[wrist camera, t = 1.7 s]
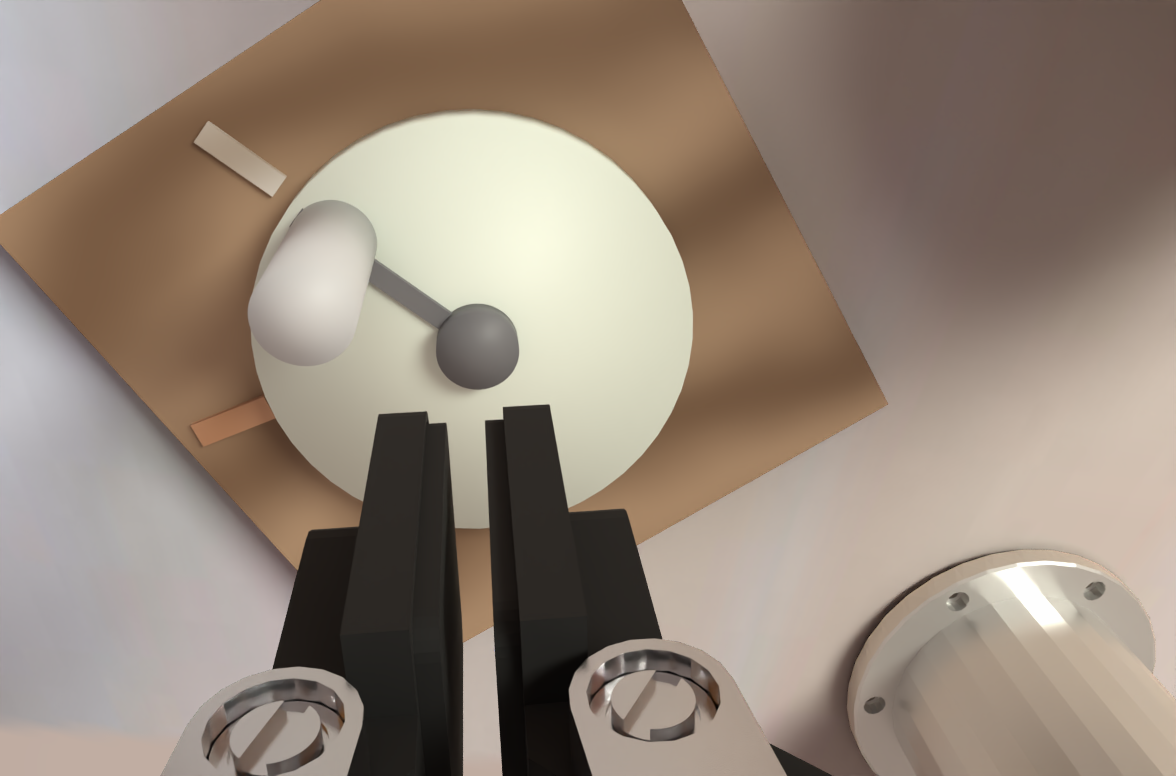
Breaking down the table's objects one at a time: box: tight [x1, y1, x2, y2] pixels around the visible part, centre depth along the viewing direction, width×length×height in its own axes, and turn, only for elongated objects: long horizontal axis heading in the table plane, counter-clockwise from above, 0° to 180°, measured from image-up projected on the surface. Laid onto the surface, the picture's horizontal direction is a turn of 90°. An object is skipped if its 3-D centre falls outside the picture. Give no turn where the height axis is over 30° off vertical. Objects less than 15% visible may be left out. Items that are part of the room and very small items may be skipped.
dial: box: [248, 109, 693, 529], centre depth 28 cm, size 13×13×8 cm
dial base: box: [0, 0, 888, 643], centre depth 32 cm, size 20×20×2 cm
